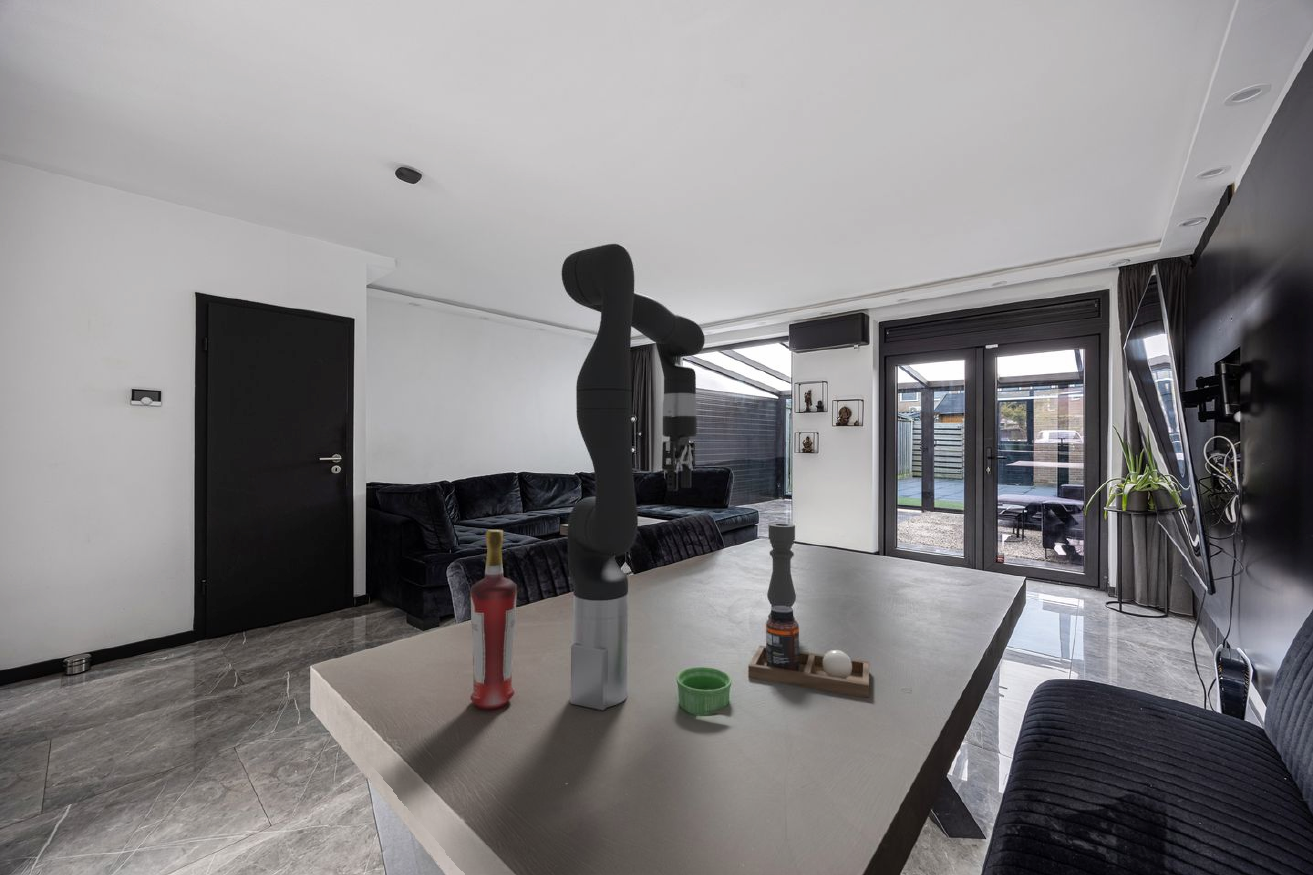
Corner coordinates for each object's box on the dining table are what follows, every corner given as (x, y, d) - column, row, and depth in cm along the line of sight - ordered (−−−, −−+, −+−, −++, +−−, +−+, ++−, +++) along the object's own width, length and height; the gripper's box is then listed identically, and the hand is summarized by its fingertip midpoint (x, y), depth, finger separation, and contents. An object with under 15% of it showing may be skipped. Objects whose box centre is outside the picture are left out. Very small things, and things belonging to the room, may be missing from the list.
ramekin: (686, 722, 81) (686, 693, 82) (669, 695, 90) (669, 669, 90) (740, 714, 84) (740, 686, 84) (718, 689, 93) (719, 664, 93)
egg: (851, 687, 91) (851, 658, 91) (821, 682, 93) (821, 653, 93) (852, 675, 96) (852, 647, 96) (823, 671, 98) (823, 643, 98)
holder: (868, 703, 88) (868, 685, 88) (748, 682, 95) (748, 665, 95) (869, 677, 97) (869, 661, 97) (759, 660, 105) (759, 645, 105)
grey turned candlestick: (788, 646, 112) (789, 527, 113) (762, 639, 116) (762, 525, 117) (800, 638, 117) (800, 524, 118) (774, 632, 121) (774, 521, 122)
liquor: (468, 696, 89) (470, 528, 90) (513, 689, 92) (515, 526, 92) (469, 717, 82) (471, 535, 83) (518, 709, 85) (520, 533, 85)
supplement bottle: (796, 664, 101) (796, 604, 101) (801, 678, 95) (802, 614, 95) (764, 663, 101) (764, 603, 101) (767, 676, 95) (768, 612, 96)
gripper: (675, 417, 125) (675, 486, 124) (650, 413, 112) (650, 491, 111) (706, 416, 122) (705, 487, 121) (684, 412, 109) (684, 492, 108)
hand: (679, 489), depth 116 cm, fingers open, 8 cm apart
